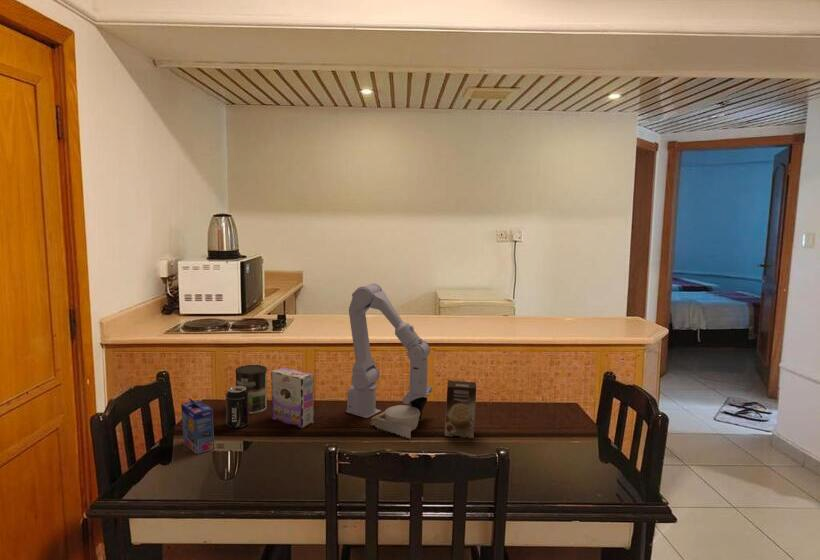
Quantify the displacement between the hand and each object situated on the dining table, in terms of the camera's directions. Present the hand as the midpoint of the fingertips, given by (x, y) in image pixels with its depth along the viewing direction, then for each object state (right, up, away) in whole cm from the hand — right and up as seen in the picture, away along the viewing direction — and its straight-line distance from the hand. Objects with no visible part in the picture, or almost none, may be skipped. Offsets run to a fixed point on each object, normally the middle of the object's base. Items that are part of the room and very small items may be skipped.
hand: (417, 418), depth 174 cm
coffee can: (-57, +1, +8) cm, 57 cm away
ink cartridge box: (-63, -2, -22) cm, 67 cm away
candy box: (-41, -1, -2) cm, 41 cm away
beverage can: (-57, -1, -6) cm, 57 cm away
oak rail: (-11, -1, +1) cm, 11 cm away
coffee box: (+13, -3, -8) cm, 15 cm away
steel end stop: (-8, -2, -9) cm, 12 cm away
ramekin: (-5, -2, -4) cm, 7 cm away
